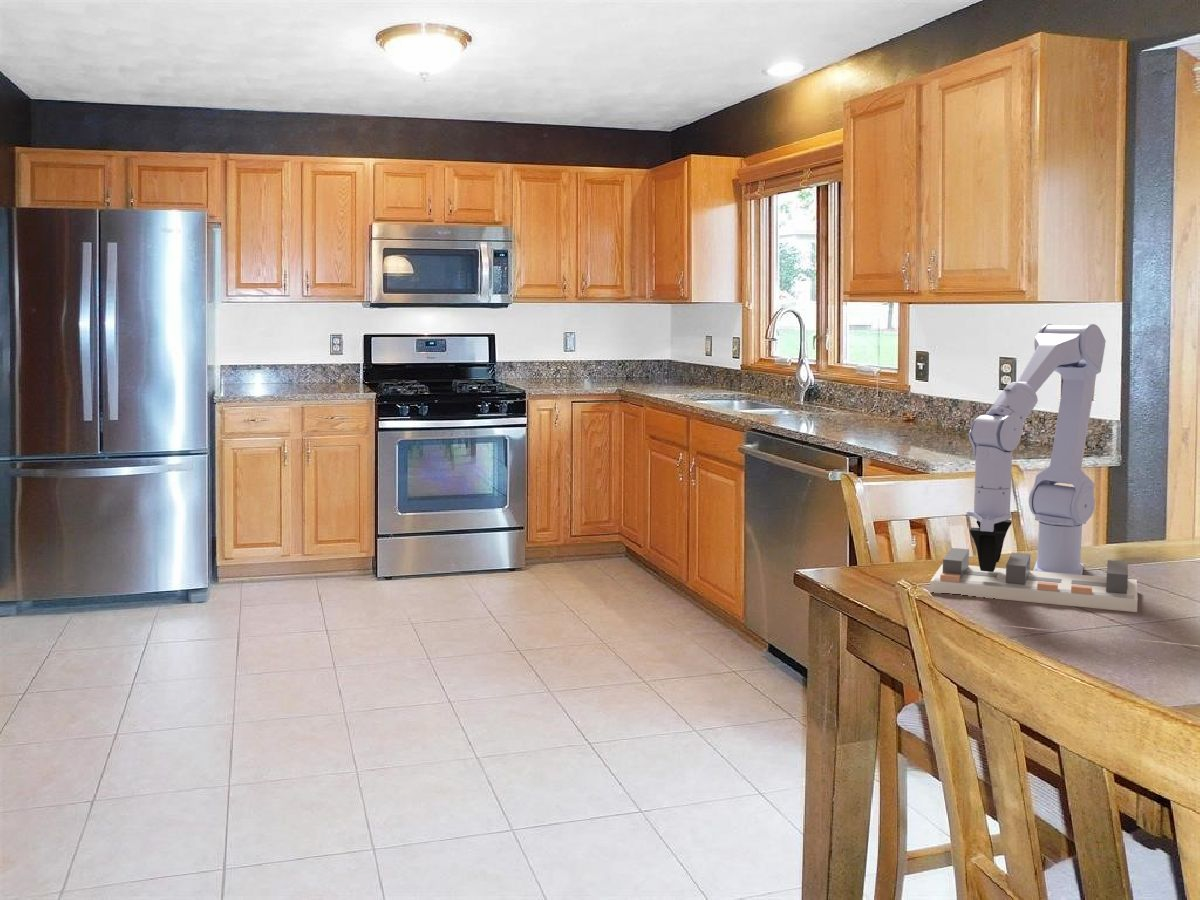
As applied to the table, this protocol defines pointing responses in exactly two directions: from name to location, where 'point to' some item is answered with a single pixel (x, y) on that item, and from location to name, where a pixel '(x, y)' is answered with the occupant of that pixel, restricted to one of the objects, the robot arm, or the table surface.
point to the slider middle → (1018, 568)
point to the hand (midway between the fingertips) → (989, 566)
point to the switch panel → (1038, 588)
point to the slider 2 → (1117, 576)
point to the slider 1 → (956, 561)
